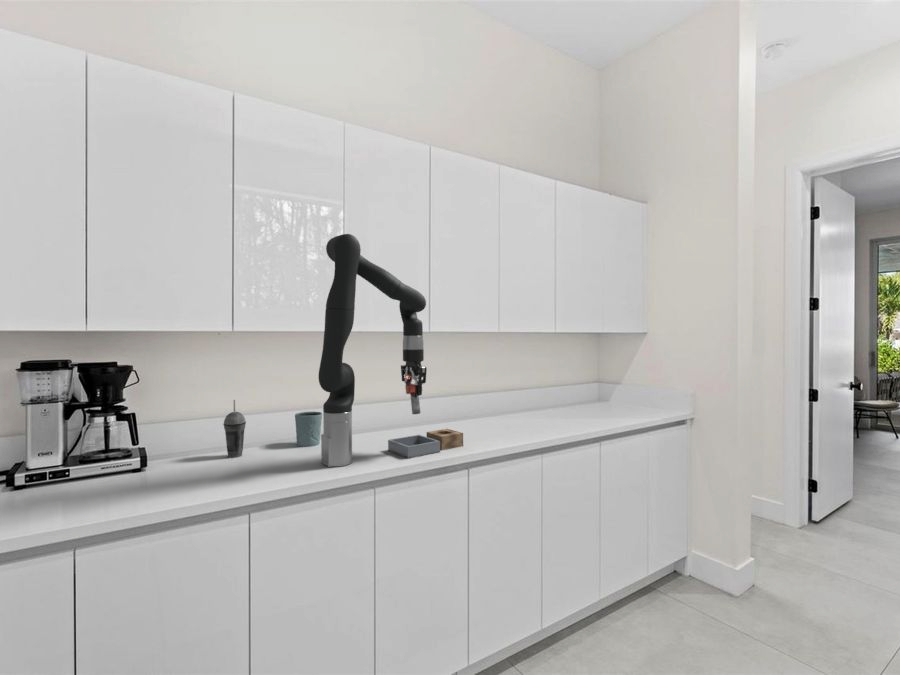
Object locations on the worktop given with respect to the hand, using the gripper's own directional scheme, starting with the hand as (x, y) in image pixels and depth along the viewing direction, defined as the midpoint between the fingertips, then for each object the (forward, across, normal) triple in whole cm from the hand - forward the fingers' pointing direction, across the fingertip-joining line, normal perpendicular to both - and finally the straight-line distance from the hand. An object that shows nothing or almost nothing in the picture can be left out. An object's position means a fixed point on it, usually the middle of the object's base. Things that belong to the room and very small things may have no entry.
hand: (413, 394), depth 170 cm
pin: (+7, 0, -1) cm, 7 cm away
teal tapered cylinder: (+21, +35, +26) cm, 49 cm away
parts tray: (+21, 0, 0) cm, 21 cm away
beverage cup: (+21, +34, +53) cm, 66 cm away
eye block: (+21, 0, -14) cm, 25 cm away
